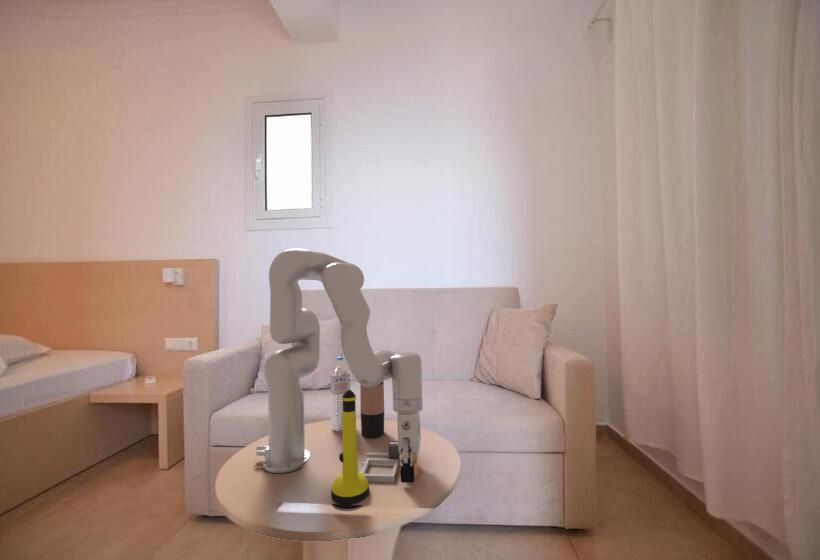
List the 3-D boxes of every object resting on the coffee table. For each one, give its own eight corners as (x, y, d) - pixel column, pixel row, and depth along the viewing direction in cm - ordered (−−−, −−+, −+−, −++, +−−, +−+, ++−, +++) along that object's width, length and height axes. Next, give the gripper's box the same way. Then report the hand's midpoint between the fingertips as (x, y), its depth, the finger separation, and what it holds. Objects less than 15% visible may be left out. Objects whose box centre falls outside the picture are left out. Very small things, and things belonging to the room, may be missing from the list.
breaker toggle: (388, 462, 95) (388, 445, 95) (390, 457, 98) (390, 440, 98) (399, 463, 95) (399, 445, 95) (401, 457, 98) (400, 440, 98)
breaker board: (338, 485, 87) (338, 474, 87) (353, 457, 101) (353, 448, 101) (395, 487, 86) (394, 476, 86) (401, 459, 100) (401, 449, 100)
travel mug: (364, 432, 118) (363, 372, 119) (386, 433, 117) (385, 372, 118) (358, 442, 111) (357, 378, 111) (381, 443, 110) (380, 378, 110)
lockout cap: (398, 484, 87) (398, 460, 87) (401, 474, 91) (400, 451, 91) (417, 485, 86) (416, 460, 87) (418, 475, 91) (417, 451, 91)
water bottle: (327, 434, 117) (326, 358, 118) (335, 426, 124) (334, 354, 125) (347, 435, 116) (346, 359, 117) (353, 427, 123) (352, 355, 123)
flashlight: (369, 384, 86) (333, 384, 86) (366, 395, 77) (325, 396, 77) (371, 487, 86) (334, 488, 86) (368, 510, 77) (326, 511, 77)
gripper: (420, 415, 80) (422, 491, 80) (424, 392, 97) (426, 455, 97) (387, 415, 81) (389, 490, 81) (397, 392, 98) (399, 454, 98)
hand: (409, 471), depth 89 cm, fingers open, 9 cm apart
